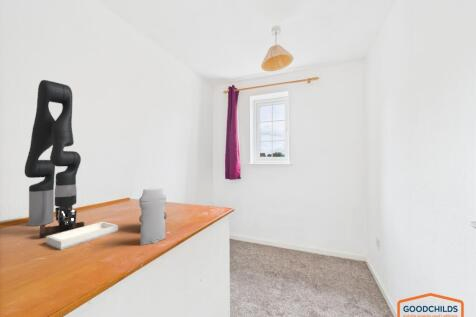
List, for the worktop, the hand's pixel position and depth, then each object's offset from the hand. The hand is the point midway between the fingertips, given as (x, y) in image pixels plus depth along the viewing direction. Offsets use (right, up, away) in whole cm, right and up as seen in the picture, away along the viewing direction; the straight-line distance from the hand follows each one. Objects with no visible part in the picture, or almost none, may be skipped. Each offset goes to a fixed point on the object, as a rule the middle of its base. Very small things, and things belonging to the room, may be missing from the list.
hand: (65, 231), depth 90 cm
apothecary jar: (+38, -1, +4) cm, 38 cm away
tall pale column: (+44, -1, -10) cm, 46 cm away
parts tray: (+13, 0, -5) cm, 14 cm away
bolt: (0, -1, -1) cm, 1 cm away
